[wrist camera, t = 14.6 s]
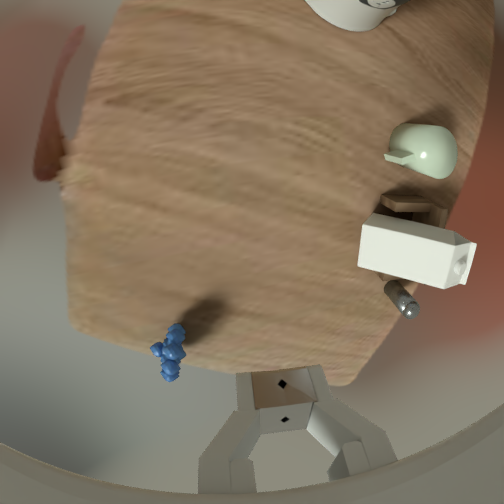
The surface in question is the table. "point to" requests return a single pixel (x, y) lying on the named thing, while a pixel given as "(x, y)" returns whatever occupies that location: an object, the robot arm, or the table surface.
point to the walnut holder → (414, 215)
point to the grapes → (170, 352)
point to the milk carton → (415, 251)
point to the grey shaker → (402, 299)
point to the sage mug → (423, 149)
